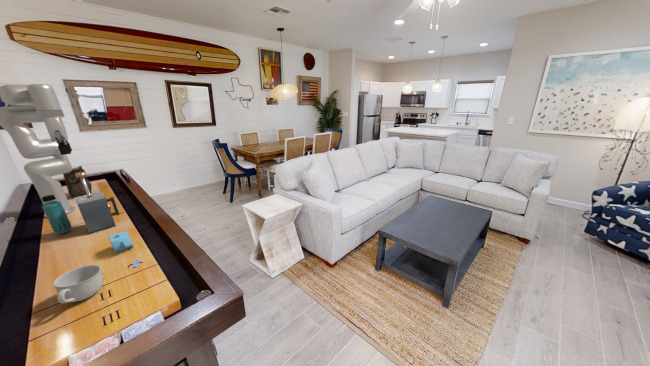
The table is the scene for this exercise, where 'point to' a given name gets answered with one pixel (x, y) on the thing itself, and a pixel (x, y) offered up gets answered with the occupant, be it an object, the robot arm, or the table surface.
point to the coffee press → (97, 211)
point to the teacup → (78, 283)
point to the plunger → (83, 181)
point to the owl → (76, 183)
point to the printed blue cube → (121, 242)
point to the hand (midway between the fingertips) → (67, 152)
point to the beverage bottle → (56, 215)
